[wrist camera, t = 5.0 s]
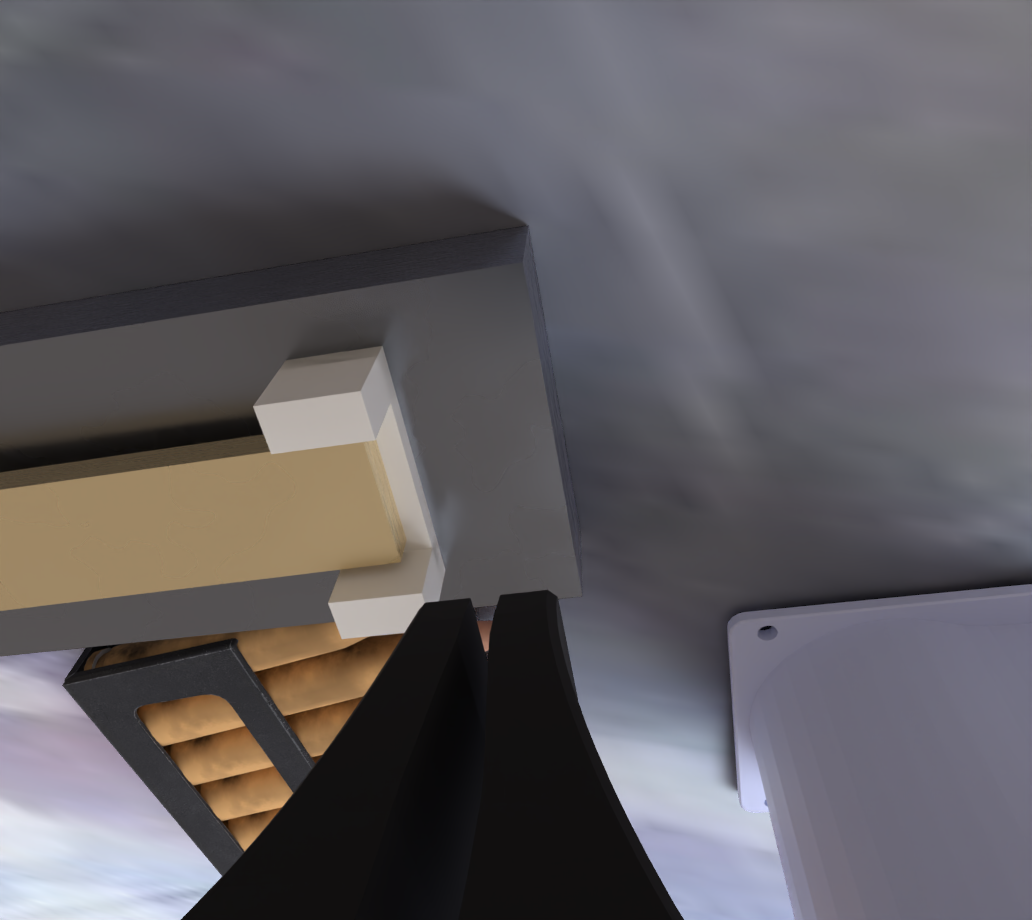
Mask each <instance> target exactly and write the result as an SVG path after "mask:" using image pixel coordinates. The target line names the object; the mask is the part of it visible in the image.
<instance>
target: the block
mask: <svg viewBox="0 0 1032 920" xmlns="http://www.w3.org/2000/svg"><path fill="white" fill-rule="evenodd" d="M378 346H383V349H384V353H385V357H386V360H387V364H388V367H389V371H390V374H391V378H392V382H393V385H394V389H395V392H396V396H397V399H398V403H399V406H400V410H401V414H402V417H403V421H404V424H405V428H406V431H407V435H408V439H409V442H410V446H411V449H412V453H413V456H414V460H415V464H416V467H417V471H418V474H419V478H420V481H421V485H422V488H423V492H424V496H425V499H426V503H427V506H428V510H429V513H430V517H431V521H432V524H433V528H434V531H435V535H436V538H437V542H438V545H439V549H440V553H441V556H442V560H443V563H444V567H445V574H444V579H443V584H442V589H441V594H440V599H439V601H445V600H455V599H465V598H471V601H472V605H473V608H475V607H485V606H495V605H497V604H498V600H499V597H500V595H503V594H512V593H522V592H532V591H541V590H549V591H550V592H552V593H553V594H555V595H556V596H558V599H563V598H573V597H582V562H581V531H580V525H579V520H578V514H577V508H576V502H575V496H574V490H573V484H572V478H571V473H570V467H569V461H568V455H567V449H566V443H565V437H564V432H563V426H562V420H561V414H560V408H559V402H558V396H557V391H556V385H555V379H554V373H553V367H552V361H551V355H550V350H549V344H548V338H547V332H546V326H545V320H544V314H543V308H542V303H541V297H540V291H539V285H538V279H537V273H536V267H535V262H534V256H533V250H532V244H531V238H530V232H529V226H522V227H516V228H510V229H504V230H498V231H492V232H486V233H480V234H474V235H468V236H462V237H456V238H450V239H444V240H438V241H432V242H426V243H420V244H414V245H408V246H402V247H396V248H390V249H384V250H378V251H372V252H366V253H360V254H354V255H348V256H342V257H336V258H330V259H323V260H317V261H311V262H305V263H299V264H293V265H287V266H281V267H275V268H269V269H263V270H257V271H251V272H245V273H239V274H233V275H227V276H221V277H215V278H209V279H203V280H197V281H191V282H185V283H179V284H173V285H167V286H161V287H155V288H149V289H143V290H137V291H131V292H125V293H119V294H113V295H107V296H101V297H95V298H88V299H82V300H76V301H70V302H64V303H58V304H52V305H46V306H40V307H34V308H28V309H22V310H16V311H10V312H4V313H0V472H6V471H13V470H20V469H27V468H34V467H41V466H48V465H55V464H62V463H69V462H76V461H82V460H89V459H96V458H103V457H110V456H117V455H124V454H131V453H138V452H145V451H152V450H159V449H166V448H173V447H179V446H186V445H193V444H200V443H207V442H214V441H221V440H228V439H235V438H242V437H249V436H256V435H263V431H262V429H261V426H260V423H259V421H258V418H257V416H256V413H255V410H254V408H253V406H254V404H255V403H256V401H257V400H258V399H259V397H260V396H261V394H262V393H263V392H264V390H265V389H266V387H267V386H268V385H269V383H270V382H271V380H272V379H273V378H274V376H275V375H276V373H277V372H278V371H279V369H280V368H281V366H282V365H283V364H284V362H285V361H286V360H291V359H298V358H305V357H311V356H318V355H325V354H331V353H338V352H345V351H352V350H358V349H365V348H372V347H378ZM339 573H340V570H333V571H325V572H317V573H308V574H300V575H292V576H284V577H276V578H267V579H259V580H251V581H243V582H234V583H226V584H218V585H210V586H202V587H193V588H185V589H177V590H169V591H160V592H152V593H144V594H136V595H128V596H119V597H111V598H103V599H95V600H86V601H78V602H70V603H62V604H53V605H45V606H37V607H29V608H21V609H12V610H4V611H0V656H9V655H19V654H28V653H38V652H48V651H57V650H67V649H77V648H87V647H96V646H106V645H116V644H125V643H135V642H145V641H155V640H164V639H174V638H184V637H194V636H203V635H213V634H223V633H232V632H242V631H252V630H262V629H271V628H281V627H291V626H300V625H310V624H320V623H330V622H335V620H334V618H333V615H332V612H331V610H330V607H329V604H328V602H329V599H330V597H331V594H332V591H333V589H334V586H335V583H336V581H337V578H338V575H339Z"/></svg>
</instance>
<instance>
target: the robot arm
mask: <svg viewBox="0 0 1032 920" xmlns="http://www.w3.org/2000/svg"><path fill="white" fill-rule="evenodd" d="M764 626H773V627H772V628H770V629H768V630H759V629H761V628H762V627H764ZM727 634H728V649H729V665H730V680H731V696H732V711H733V726H734V742H735V757H736V773H737V788H738V797H739V802H740V805H741V807H742V808H743V809H744V810H746V811H749V812H755V813H759V812H769V813H770V818H771V822H772V826H773V830H774V834H775V838H776V843H777V847H778V851H779V855H780V859H781V864H782V868H783V872H784V876H785V880H786V884H787V889H788V893H789V897H790V901H791V905H792V909H793V914H794V918H795V920H1032V584H1026V585H1016V586H1006V587H996V588H986V589H975V590H965V591H955V592H945V593H934V594H924V595H914V596H904V597H893V598H883V599H873V600H863V601H852V602H842V603H832V604H822V605H811V606H801V607H791V608H781V609H770V610H760V611H750V612H743V613H739V614H737V615H735V616H733V617H732V618H731V619H730V621H729V622H728V626H727ZM181 920H684V919H683V917H682V916H681V914H680V912H679V911H678V909H677V908H676V906H675V904H674V903H673V901H672V899H671V897H670V896H669V894H668V892H667V890H666V888H665V887H664V885H663V883H662V881H661V879H660V878H659V876H658V874H657V872H656V870H655V869H654V867H653V865H652V863H651V861H650V860H649V858H648V856H647V854H646V852H645V850H644V848H643V846H642V844H641V843H640V841H639V839H638V837H637V835H636V833H635V831H634V829H633V827H632V825H631V823H630V821H629V819H628V817H627V815H626V813H625V811H624V809H623V807H622V805H621V803H620V801H619V799H618V797H617V795H616V792H615V790H614V788H613V786H612V784H611V782H610V780H609V777H608V775H607V773H606V770H605V768H604V766H603V764H602V761H601V759H600V757H599V754H598V752H597V750H596V748H595V745H594V743H593V740H592V738H591V735H590V733H589V730H588V728H587V725H586V722H585V720H584V717H583V714H582V711H581V708H580V706H579V703H578V698H577V692H576V687H575V682H574V677H573V672H572V667H571V662H570V657H569V652H568V647H567V642H566V637H565V632H564V627H563V622H562V617H561V611H560V606H559V601H558V596H556V595H555V594H553V593H552V592H550V591H549V590H541V591H532V592H522V593H512V594H503V595H500V597H499V600H498V604H497V607H496V610H495V613H494V617H493V622H492V626H491V630H490V634H489V652H488V661H487V657H486V653H485V650H484V646H483V642H482V638H481V635H480V631H479V627H478V623H477V620H476V616H475V612H474V608H473V605H472V601H471V598H465V599H455V600H445V601H436V602H426V603H424V604H423V606H422V607H421V608H420V609H419V610H418V612H417V614H416V615H415V617H414V618H413V620H412V621H411V623H410V625H409V626H408V628H407V630H406V631H405V633H404V634H403V636H402V638H401V639H400V641H399V642H398V644H397V646H396V647H395V649H394V650H393V652H392V654H391V655H390V657H389V658H388V660H387V661H386V663H385V665H384V666H383V668H382V669H381V671H380V672H379V674H378V675H377V677H376V678H375V680H374V682H373V683H372V685H371V686H370V688H369V689H368V691H367V692H366V693H365V695H364V696H363V698H362V699H361V701H360V702H359V704H358V705H357V707H356V708H355V710H354V711H353V712H352V714H351V715H350V717H349V718H348V720H347V721H346V723H345V724H344V726H343V727H342V729H341V730H340V731H339V733H338V734H337V736H336V737H335V738H334V740H333V741H332V743H331V744H330V745H329V747H328V748H327V749H326V751H325V752H324V753H323V755H322V756H321V757H320V759H319V760H318V761H317V762H316V764H315V765H314V766H313V768H312V769H311V770H310V772H309V773H308V774H307V776H306V777H305V778H304V780H303V781H302V782H301V784H300V785H299V786H298V788H297V789H296V790H295V792H294V793H293V794H292V795H291V797H290V798H289V799H288V800H287V802H286V803H285V804H284V805H283V807H282V808H281V809H280V810H279V812H278V813H277V814H276V815H275V816H274V818H273V819H272V820H271V821H270V823H269V824H268V825H267V826H266V827H265V828H264V830H263V831H262V832H261V833H260V834H259V836H258V837H257V838H256V839H255V840H254V841H253V843H252V844H251V845H250V846H249V847H248V848H247V849H246V850H245V852H244V853H243V854H242V855H241V856H240V857H239V858H238V860H237V861H236V862H235V863H234V864H233V865H232V866H231V867H230V869H229V870H228V871H227V872H226V873H225V874H224V875H223V876H222V877H221V878H220V880H219V881H218V882H217V883H216V884H215V885H214V886H213V887H212V888H211V889H210V890H209V891H208V892H207V893H206V894H205V895H204V896H203V897H202V898H201V899H200V900H199V901H198V903H197V904H196V905H195V906H194V907H193V908H192V909H191V910H190V911H189V912H188V913H187V914H186V915H185V916H184V917H183V918H182V919H181Z"/></svg>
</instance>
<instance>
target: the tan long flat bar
mask: <svg viewBox="0 0 1032 920" xmlns="http://www.w3.org/2000/svg"><path fill="white" fill-rule="evenodd" d="M405 544H406V536H405V533H404V530H403V526H402V523H401V520H400V517H399V513H398V510H397V507H396V503H395V500H394V497H393V494H392V490H391V487H390V484H389V480H388V477H387V474H386V470H385V467H384V464H383V461H382V457H381V454H380V451H379V447H378V444H377V441H376V440H374V441H367V442H359V443H352V444H344V445H337V446H329V447H322V448H314V449H307V450H299V451H292V452H284V453H277V454H271V452H270V450H269V447H268V444H267V442H266V439H265V437H264V434H263V435H256V436H249V437H242V438H235V439H228V440H221V441H214V442H207V443H200V444H193V445H186V446H179V447H173V448H166V449H159V450H152V451H145V452H138V453H131V454H124V455H117V456H110V457H103V458H96V459H89V460H82V461H76V462H69V463H62V464H55V465H48V466H41V467H34V468H27V469H20V470H13V471H6V472H0V611H4V610H12V609H21V608H29V607H37V606H45V605H53V604H62V603H70V602H78V601H86V600H95V599H103V598H111V597H119V596H128V595H136V594H144V593H152V592H160V591H169V590H177V589H185V588H193V587H202V586H210V585H218V584H226V583H234V582H243V581H251V580H259V579H267V578H276V577H284V576H292V575H300V574H308V573H317V572H325V571H333V570H341V569H350V568H358V567H366V566H374V565H382V564H391V563H399V562H401V560H402V556H403V552H404V548H405Z"/></svg>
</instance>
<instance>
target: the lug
mask: <svg viewBox="0 0 1032 920" xmlns="http://www.w3.org/2000/svg"><path fill="white" fill-rule="evenodd" d="M253 408H254V410H255V413H256V416H257V418H258V421H259V423H260V426H261V429H262V431H263V434H264V437H265V439H266V442H267V444H268V447H269V450H270V452H271V454H277V453H284V452H292V451H299V450H307V449H314V448H322V447H329V446H337V445H344V444H352V443H359V442H367V441H374V440H376V441H377V444H378V447H379V451H380V454H381V457H382V461H383V464H384V467H385V470H386V474H387V477H388V480H389V484H390V487H391V490H392V494H393V497H394V500H395V503H396V507H397V510H398V513H399V517H400V520H401V523H402V526H403V530H404V533H405V536H406V544H405V548H404V552H403V556H402V560H401V562H399V563H391V564H382V565H374V566H366V567H358V568H350V569H341V570H340V573H339V575H338V578H337V581H336V583H335V586H334V589H333V591H332V594H331V597H330V599H329V602H328V604H329V607H330V610H331V612H332V615H333V618H334V620H335V623H336V625H337V628H338V631H339V633H340V636H341V638H342V639H348V638H359V637H369V636H379V635H389V634H399V633H405V631H406V630H407V628H408V626H409V625H410V623H411V621H412V620H413V618H414V617H415V615H416V614H417V612H418V610H419V609H420V608H421V607H422V606H423V604H424V603H426V602H436V601H439V599H440V594H441V589H442V584H443V579H444V574H445V567H444V563H443V560H442V556H441V553H440V549H439V545H438V542H437V538H436V535H435V531H434V528H433V524H432V521H431V517H430V513H429V510H428V506H427V503H426V499H425V496H424V492H423V488H422V485H421V481H420V478H419V474H418V471H417V467H416V464H415V460H414V456H413V453H412V449H411V446H410V442H409V439H408V435H407V431H406V428H405V424H404V421H403V417H402V414H401V410H400V406H399V403H398V399H397V396H396V392H395V389H394V385H393V382H392V378H391V374H390V371H389V367H388V364H387V360H386V357H385V353H384V349H383V346H378V347H372V348H365V349H358V350H352V351H345V352H338V353H331V354H325V355H318V356H311V357H305V358H298V359H291V360H286V361H285V362H284V364H283V365H282V366H281V368H280V369H279V371H278V372H277V373H276V375H275V376H274V378H273V379H272V380H271V382H270V383H269V385H268V386H267V387H266V389H265V390H264V392H263V393H262V394H261V396H260V397H259V399H258V400H257V401H256V403H255V404H254V406H253Z"/></svg>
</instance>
